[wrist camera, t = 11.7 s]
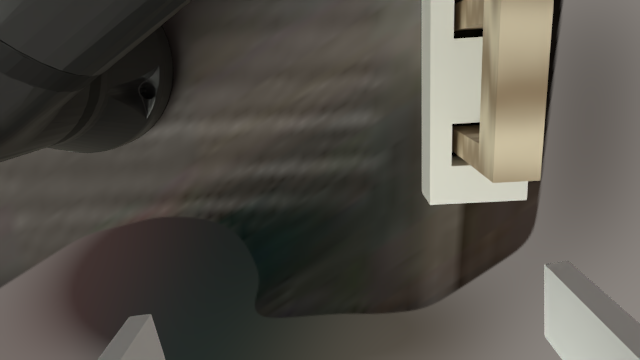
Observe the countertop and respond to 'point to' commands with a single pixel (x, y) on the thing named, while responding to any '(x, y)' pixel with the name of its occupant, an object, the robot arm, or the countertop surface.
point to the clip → (508, 87)
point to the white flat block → (452, 112)
